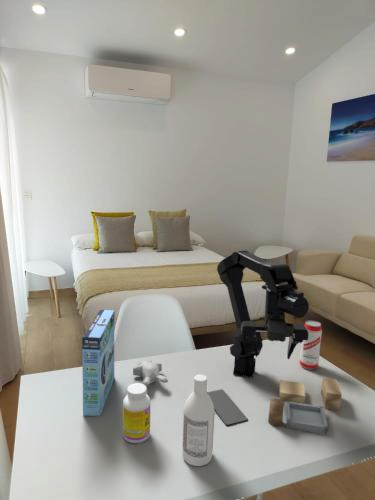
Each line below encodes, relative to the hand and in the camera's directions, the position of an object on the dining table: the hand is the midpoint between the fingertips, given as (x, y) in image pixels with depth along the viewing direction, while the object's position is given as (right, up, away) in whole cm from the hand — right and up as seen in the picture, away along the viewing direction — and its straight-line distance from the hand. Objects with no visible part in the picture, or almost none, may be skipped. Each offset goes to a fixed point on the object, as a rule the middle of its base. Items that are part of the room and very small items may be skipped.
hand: (272, 357), depth 108 cm
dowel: (-2, -14, -11) cm, 18 cm away
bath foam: (-23, -16, -23) cm, 36 cm away
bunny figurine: (-37, -10, +8) cm, 39 cm away
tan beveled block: (+6, -12, +2) cm, 14 cm away
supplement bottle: (-38, -14, -17) cm, 44 cm away
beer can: (+17, -9, +20) cm, 28 cm away
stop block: (+17, -13, 0) cm, 21 cm away
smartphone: (-15, -13, -5) cm, 20 cm away
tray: (+7, -14, -9) cm, 18 cm away
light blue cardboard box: (-51, -11, -1) cm, 52 cm away
